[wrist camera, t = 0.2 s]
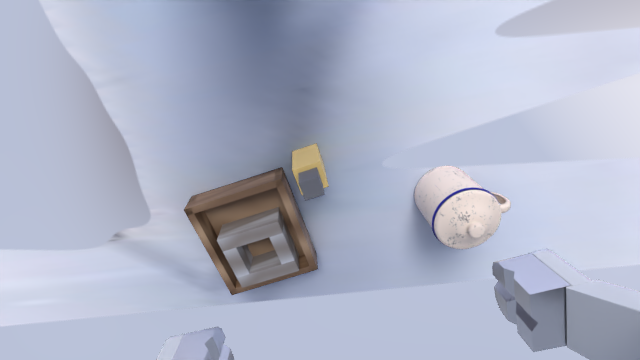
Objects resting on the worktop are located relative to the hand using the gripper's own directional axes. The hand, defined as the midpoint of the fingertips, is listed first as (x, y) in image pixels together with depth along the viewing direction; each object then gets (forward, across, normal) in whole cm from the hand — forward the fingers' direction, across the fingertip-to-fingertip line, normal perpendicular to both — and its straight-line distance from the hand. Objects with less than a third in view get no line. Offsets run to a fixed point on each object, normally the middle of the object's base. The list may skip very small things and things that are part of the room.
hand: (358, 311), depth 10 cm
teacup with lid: (+41, -17, +16) cm, 47 cm away
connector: (+39, +3, +5) cm, 40 cm away
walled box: (+40, +13, +14) cm, 44 cm away
